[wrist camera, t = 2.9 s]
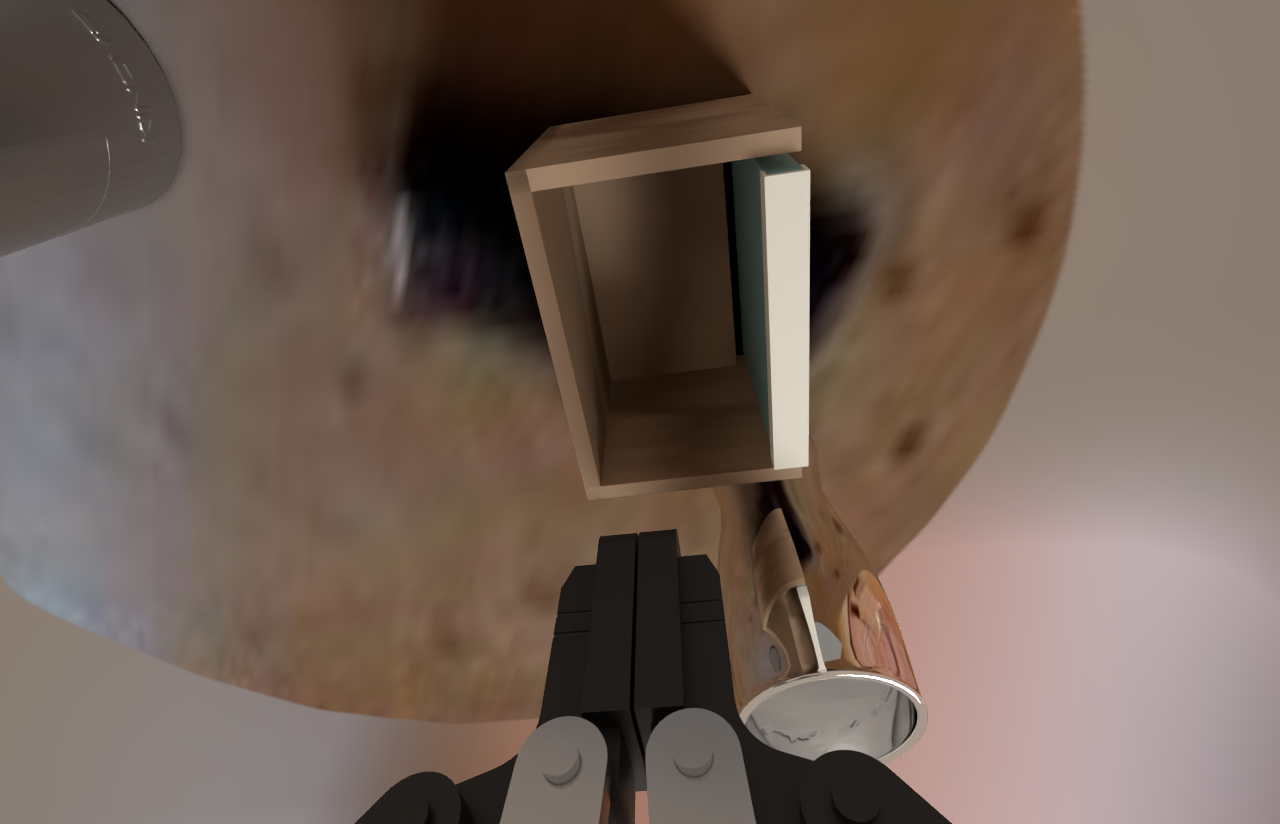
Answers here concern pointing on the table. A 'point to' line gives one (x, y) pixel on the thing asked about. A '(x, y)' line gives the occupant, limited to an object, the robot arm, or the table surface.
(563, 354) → the crate
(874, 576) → the beer glass
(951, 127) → the table surface
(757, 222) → the teal panel
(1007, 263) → the table surface
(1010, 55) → the table surface
